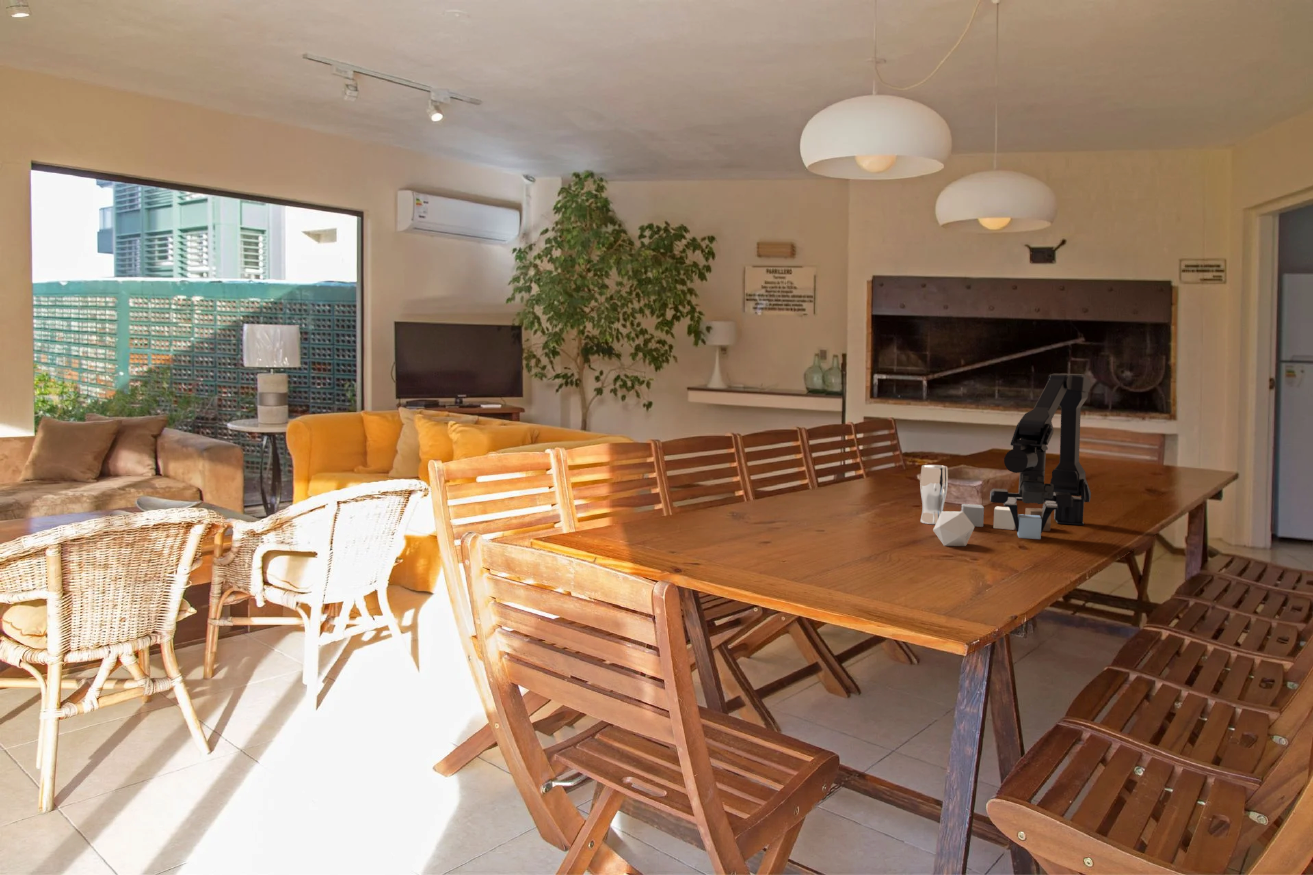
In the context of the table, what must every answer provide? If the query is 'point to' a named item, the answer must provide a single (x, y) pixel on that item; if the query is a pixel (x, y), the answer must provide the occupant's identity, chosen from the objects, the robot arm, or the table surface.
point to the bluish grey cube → (1029, 526)
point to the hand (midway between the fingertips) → (1028, 532)
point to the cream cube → (1003, 518)
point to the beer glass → (933, 492)
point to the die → (953, 528)
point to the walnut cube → (1039, 512)
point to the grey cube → (974, 513)
